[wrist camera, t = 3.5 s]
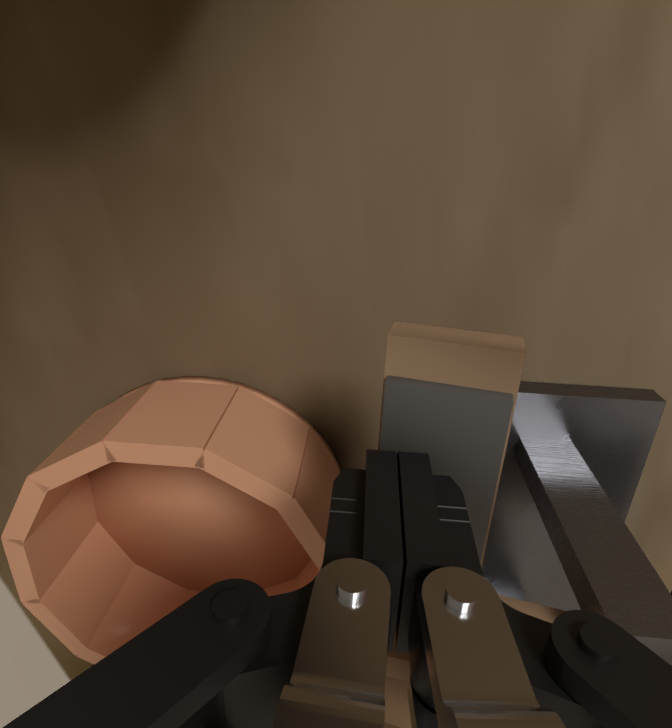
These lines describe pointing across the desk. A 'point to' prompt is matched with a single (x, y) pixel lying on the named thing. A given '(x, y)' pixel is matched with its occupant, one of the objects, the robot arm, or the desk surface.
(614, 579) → the chute stand
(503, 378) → the chute
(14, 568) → the pink round bowl
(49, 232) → the desk surface
